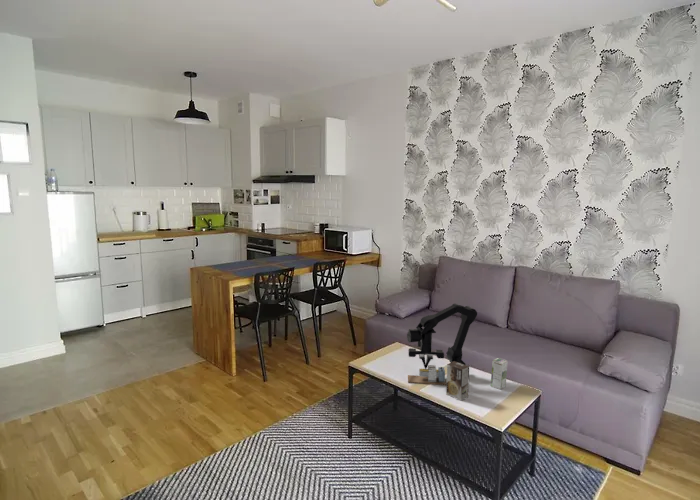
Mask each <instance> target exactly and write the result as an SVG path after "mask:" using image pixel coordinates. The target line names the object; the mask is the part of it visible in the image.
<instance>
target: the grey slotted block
mask: <svg viewBox="0 0 700 500" xmlns="http://www.w3.org/2000/svg"><path fill="white" fill-rule="evenodd" d="M427 369H428V382H436V369H437V367H436V365H435V364H428V366H427Z"/></svg>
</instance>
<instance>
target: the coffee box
mask: <svg viewBox="0 0 700 500" xmlns="http://www.w3.org/2000/svg"><path fill="white" fill-rule="evenodd" d="M469 379H470V365H468V364H465V365H464V364H462V363H459V362H456V361H453V362H449V363H447V365H446V390H445V392H446V395H447V396H450V397H452V398H455V399H456V400H459V401H463V400H465V399H467V398H468V397H469V386H470V385H469V383H470V382H469V381H470V380H469Z"/></svg>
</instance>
